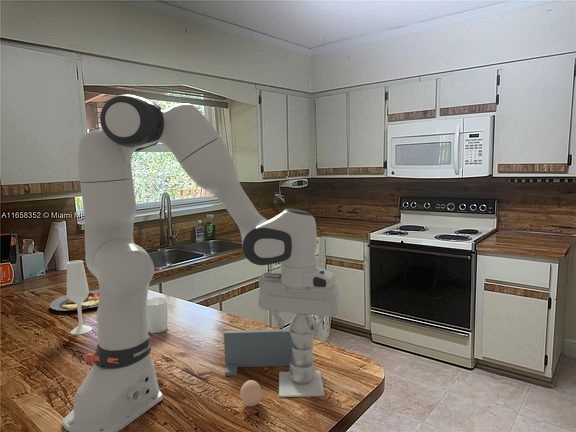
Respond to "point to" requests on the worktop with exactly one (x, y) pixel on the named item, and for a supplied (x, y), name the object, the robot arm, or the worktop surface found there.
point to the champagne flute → (77, 291)
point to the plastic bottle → (302, 348)
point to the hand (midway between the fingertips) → (298, 329)
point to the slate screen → (256, 349)
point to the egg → (251, 393)
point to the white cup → (156, 314)
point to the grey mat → (300, 386)
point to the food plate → (89, 302)
